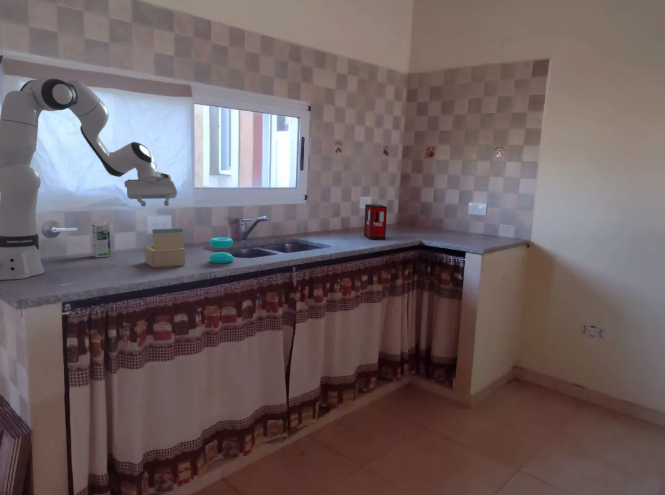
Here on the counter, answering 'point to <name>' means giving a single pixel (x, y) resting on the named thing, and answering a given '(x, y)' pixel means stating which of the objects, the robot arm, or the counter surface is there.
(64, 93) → the robot arm
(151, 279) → the counter surface
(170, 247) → the flap
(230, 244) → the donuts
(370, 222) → the cleaning product box
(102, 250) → the syrup box
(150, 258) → the carton
